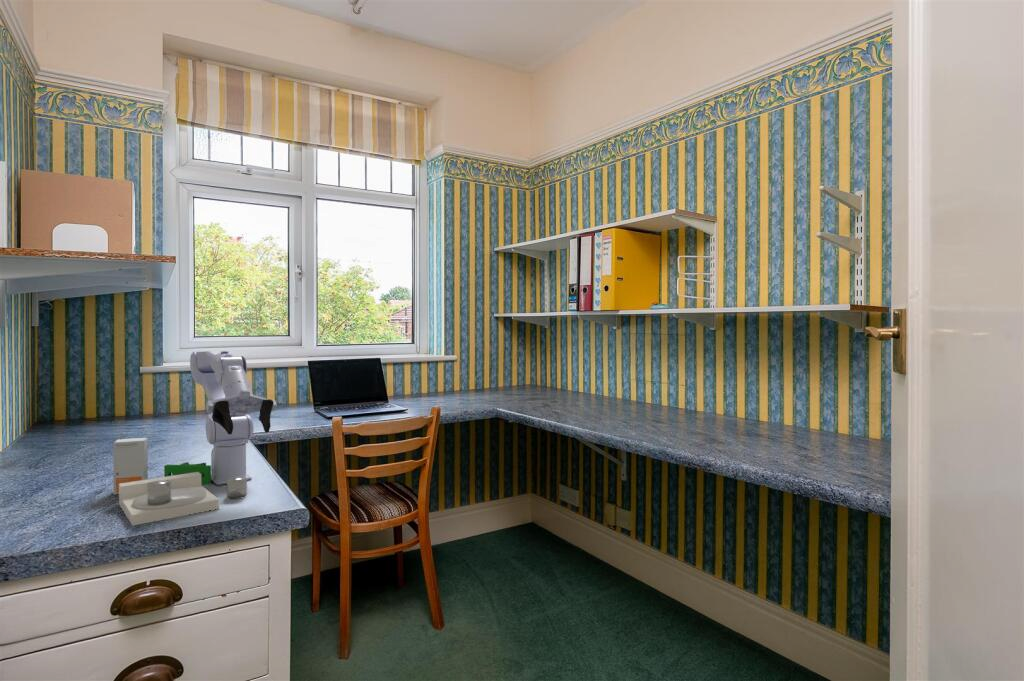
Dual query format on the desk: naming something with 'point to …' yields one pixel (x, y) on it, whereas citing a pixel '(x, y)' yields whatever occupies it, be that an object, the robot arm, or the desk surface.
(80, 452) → the desk surface
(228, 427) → the robot arm
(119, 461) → the skincare box
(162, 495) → the cylinder
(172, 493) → the scale
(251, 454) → the desk surface
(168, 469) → the pipe clamp
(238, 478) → the cylinder
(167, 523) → the desk surface
